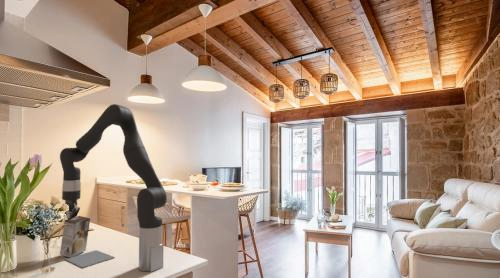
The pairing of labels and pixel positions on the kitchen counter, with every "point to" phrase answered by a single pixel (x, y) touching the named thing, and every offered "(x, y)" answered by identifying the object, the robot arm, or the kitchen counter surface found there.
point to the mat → (89, 258)
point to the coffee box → (75, 236)
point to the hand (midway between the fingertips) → (70, 225)
